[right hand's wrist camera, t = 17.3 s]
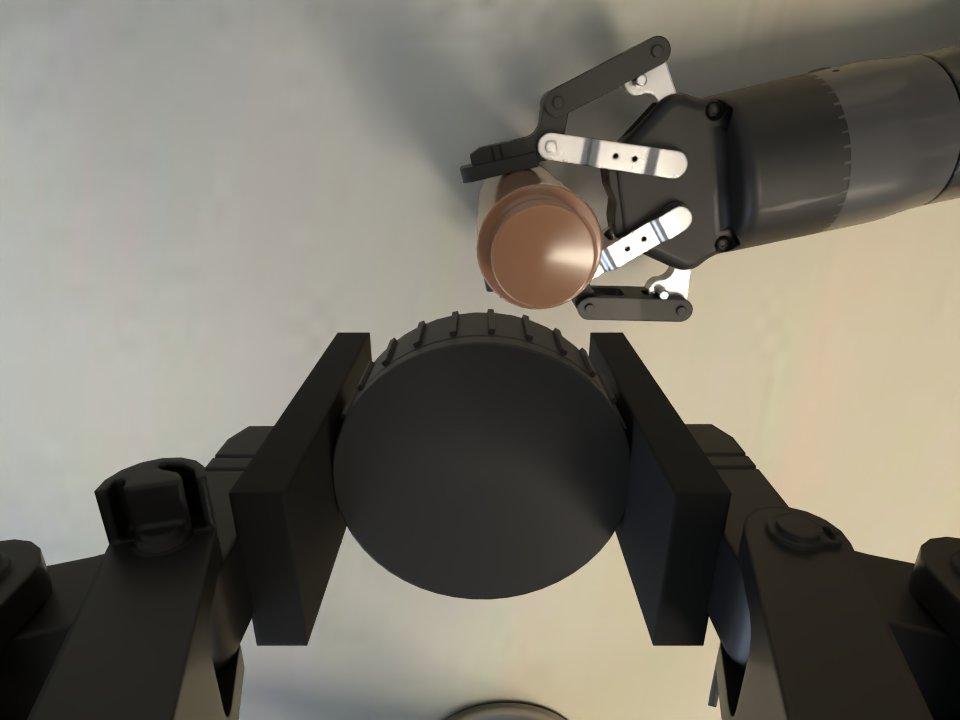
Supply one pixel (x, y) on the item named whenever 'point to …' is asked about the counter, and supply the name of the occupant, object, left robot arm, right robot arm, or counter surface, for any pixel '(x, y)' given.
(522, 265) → the jar
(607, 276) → the counter surface
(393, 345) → the lid
